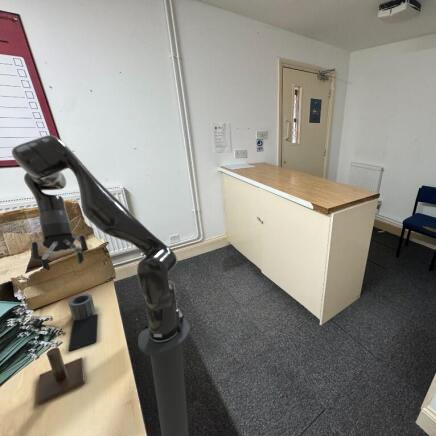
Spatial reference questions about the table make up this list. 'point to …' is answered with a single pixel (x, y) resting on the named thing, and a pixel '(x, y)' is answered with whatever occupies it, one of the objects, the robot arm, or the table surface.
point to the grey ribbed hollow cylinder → (82, 307)
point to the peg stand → (59, 376)
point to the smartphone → (83, 333)
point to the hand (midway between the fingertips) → (64, 266)
